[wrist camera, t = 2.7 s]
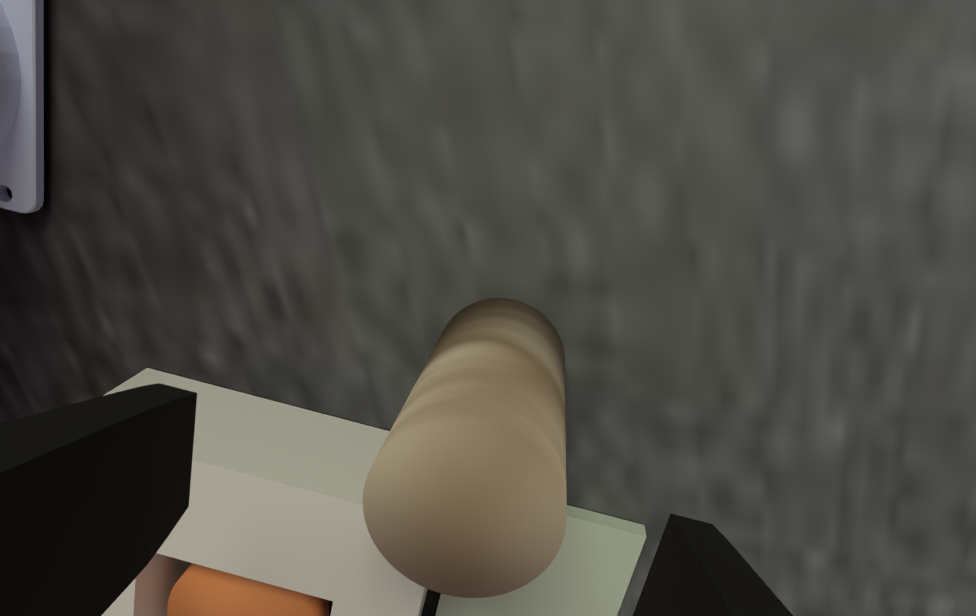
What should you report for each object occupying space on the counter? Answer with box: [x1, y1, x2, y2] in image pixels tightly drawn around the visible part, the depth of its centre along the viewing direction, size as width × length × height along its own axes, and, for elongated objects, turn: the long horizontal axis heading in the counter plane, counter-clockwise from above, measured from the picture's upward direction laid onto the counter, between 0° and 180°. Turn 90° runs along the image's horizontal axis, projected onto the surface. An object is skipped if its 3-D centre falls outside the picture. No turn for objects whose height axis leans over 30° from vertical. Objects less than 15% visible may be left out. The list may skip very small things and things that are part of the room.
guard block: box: [102, 368, 428, 616], centre depth 21 cm, size 11×13×4 cm
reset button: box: [167, 563, 329, 616], centre depth 21 cm, size 5×5×1 cm
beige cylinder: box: [363, 298, 567, 598], centre depth 16 cm, size 4×4×8 cm
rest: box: [435, 505, 646, 616], centre depth 22 cm, size 6×7×1 cm
